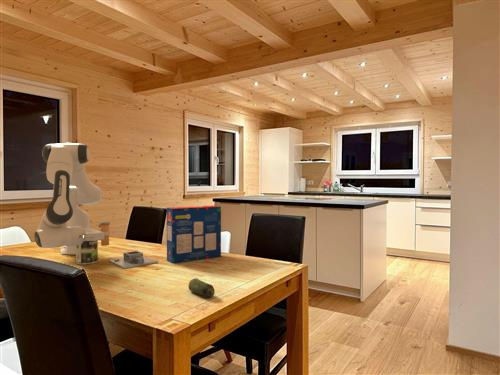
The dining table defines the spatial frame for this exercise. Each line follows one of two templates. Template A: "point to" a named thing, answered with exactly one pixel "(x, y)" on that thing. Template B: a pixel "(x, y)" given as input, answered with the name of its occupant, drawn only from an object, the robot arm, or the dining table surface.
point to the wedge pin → (104, 228)
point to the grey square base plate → (132, 260)
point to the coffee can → (87, 252)
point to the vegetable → (201, 288)
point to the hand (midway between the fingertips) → (107, 232)
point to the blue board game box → (193, 233)
